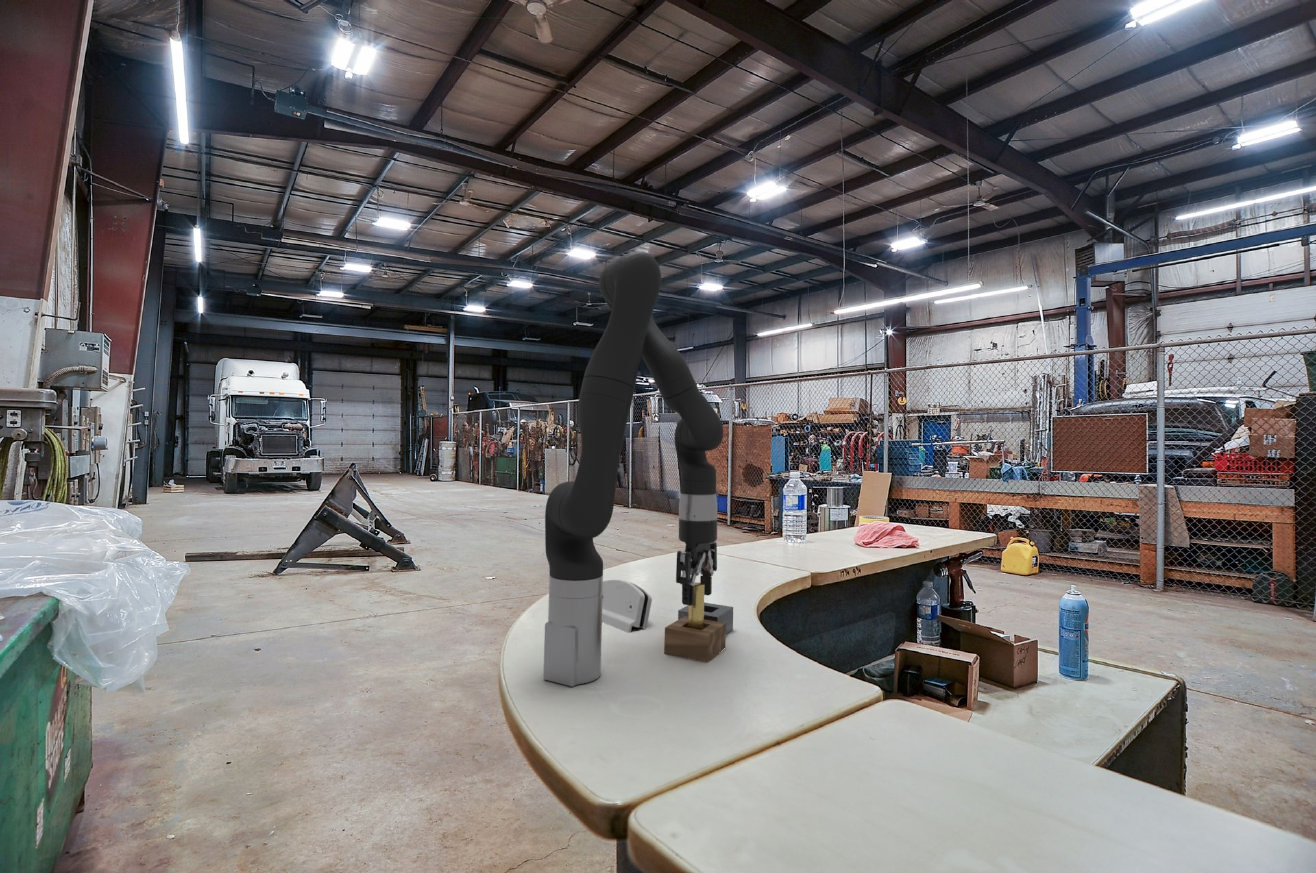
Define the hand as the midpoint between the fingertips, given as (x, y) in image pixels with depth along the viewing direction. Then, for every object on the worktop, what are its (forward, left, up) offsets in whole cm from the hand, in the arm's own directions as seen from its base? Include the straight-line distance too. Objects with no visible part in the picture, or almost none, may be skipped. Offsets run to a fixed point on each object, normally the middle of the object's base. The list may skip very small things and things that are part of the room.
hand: (697, 599), depth 117 cm
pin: (0, 0, -10) cm, 10 cm away
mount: (0, 0, -10) cm, 10 cm away
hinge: (+9, +23, -10) cm, 27 cm away
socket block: (+12, +3, -10) cm, 16 cm away
